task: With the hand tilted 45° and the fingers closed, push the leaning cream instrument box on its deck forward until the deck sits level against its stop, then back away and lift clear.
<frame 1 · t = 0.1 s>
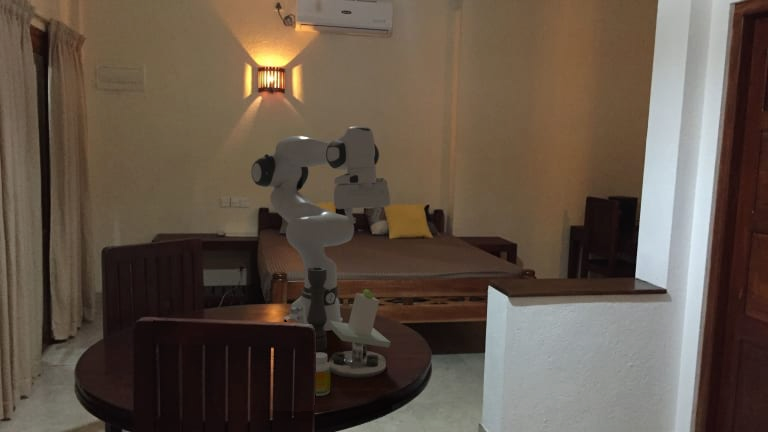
hand: (363, 222, 176), 39 cm above the table, tool pointing down, fingers open, 8 cm apart
instrument: (363, 313, 159), point 15 cm above the table, hinge at -14.0°
candle holder: (316, 348, 175), on the table
tribrach base: (357, 366, 160), on the table
supplement bottle: (319, 392, 143), on the table
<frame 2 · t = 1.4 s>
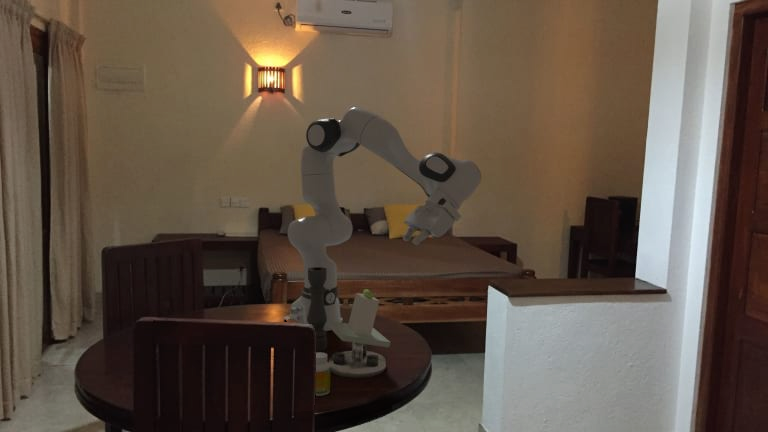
hand: (409, 241, 162), 35 cm above the table, tool tilted 45°, fingers open, 5 cm apart
nothing on the table moved.
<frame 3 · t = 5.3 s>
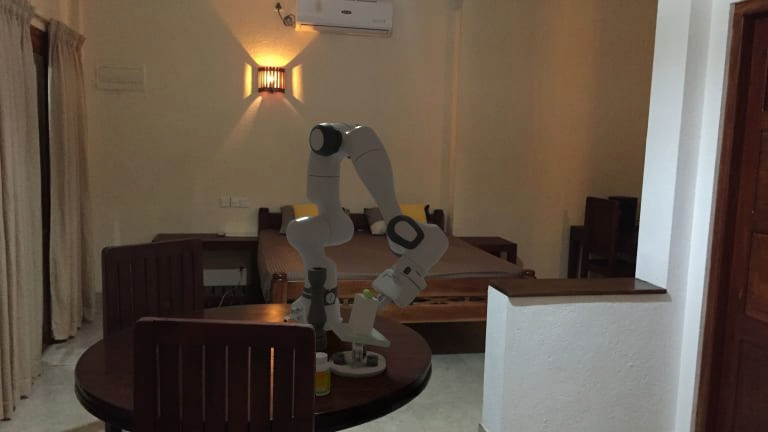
hand: (375, 308, 160), 16 cm above the table, tool tilted 45°, fingers closed, pressing on instrument
instrument: (363, 313, 159), point 15 cm above the table, hinge at -13.8°, touching gripper
everything else where it was.
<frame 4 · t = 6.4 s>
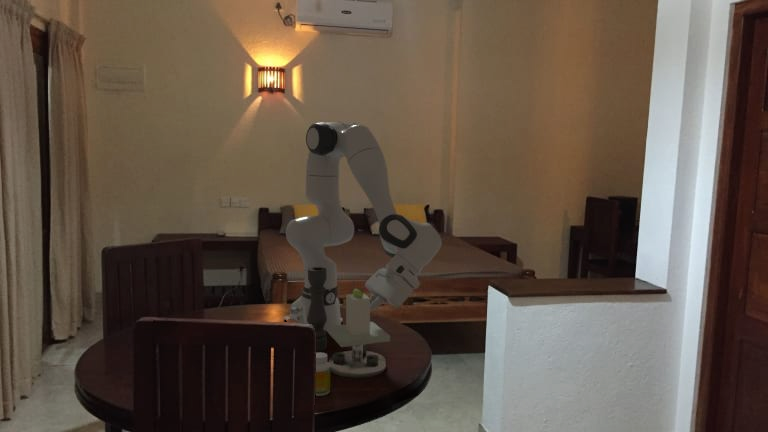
hand: (368, 308, 159), 17 cm above the table, tool tilted 45°, fingers closed, pressing on instrument
instrument: (357, 313, 158), point 16 cm above the table, hinge at 0.5°, touching gripper
everything else where it was.
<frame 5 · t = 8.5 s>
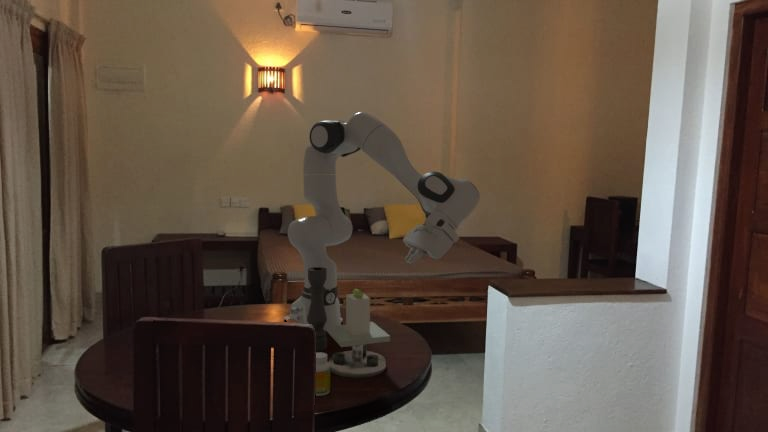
hand: (408, 261, 162), 29 cm above the table, tool tilted 45°, fingers closed
instrument: (357, 313, 158), point 16 cm above the table, hinge at 0.5°
everything else where it was.
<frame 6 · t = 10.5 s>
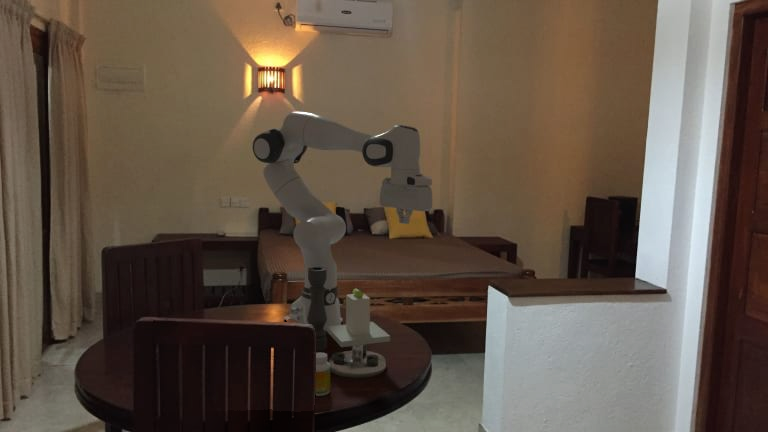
hand: (404, 223, 174), 39 cm above the table, tool pointing down, fingers closed
nothing on the table moved.
at the end: instrument at +0° (first picture: -14°) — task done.
